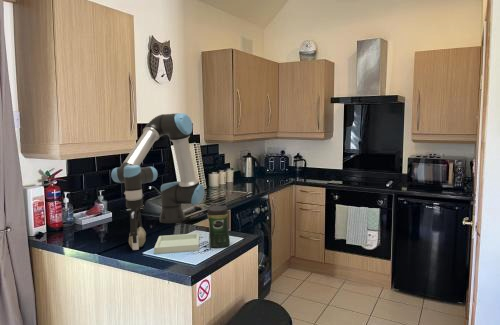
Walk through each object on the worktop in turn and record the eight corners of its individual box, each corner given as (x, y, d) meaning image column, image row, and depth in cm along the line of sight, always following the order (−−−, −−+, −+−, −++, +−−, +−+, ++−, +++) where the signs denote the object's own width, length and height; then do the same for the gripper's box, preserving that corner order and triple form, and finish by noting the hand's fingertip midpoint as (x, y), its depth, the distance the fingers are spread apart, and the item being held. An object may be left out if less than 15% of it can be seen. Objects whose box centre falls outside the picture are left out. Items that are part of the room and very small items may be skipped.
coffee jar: (229, 242, 182) (228, 203, 180) (229, 247, 174) (228, 207, 173) (209, 243, 181) (207, 204, 180) (208, 248, 174) (206, 208, 172)
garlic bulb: (141, 248, 184) (144, 227, 186) (149, 249, 178) (152, 227, 180) (122, 247, 178) (125, 225, 180) (130, 248, 172) (133, 225, 174)
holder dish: (159, 241, 188) (159, 236, 188) (199, 238, 190) (199, 233, 190) (154, 254, 169) (154, 247, 169) (199, 250, 171) (198, 244, 171)
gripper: (130, 195, 188) (133, 240, 190) (120, 204, 166) (124, 254, 168) (146, 194, 189) (149, 239, 191) (138, 202, 167) (142, 253, 169)
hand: (137, 246), depth 180 cm, fingers closed on garlic bulb, 9 cm apart
